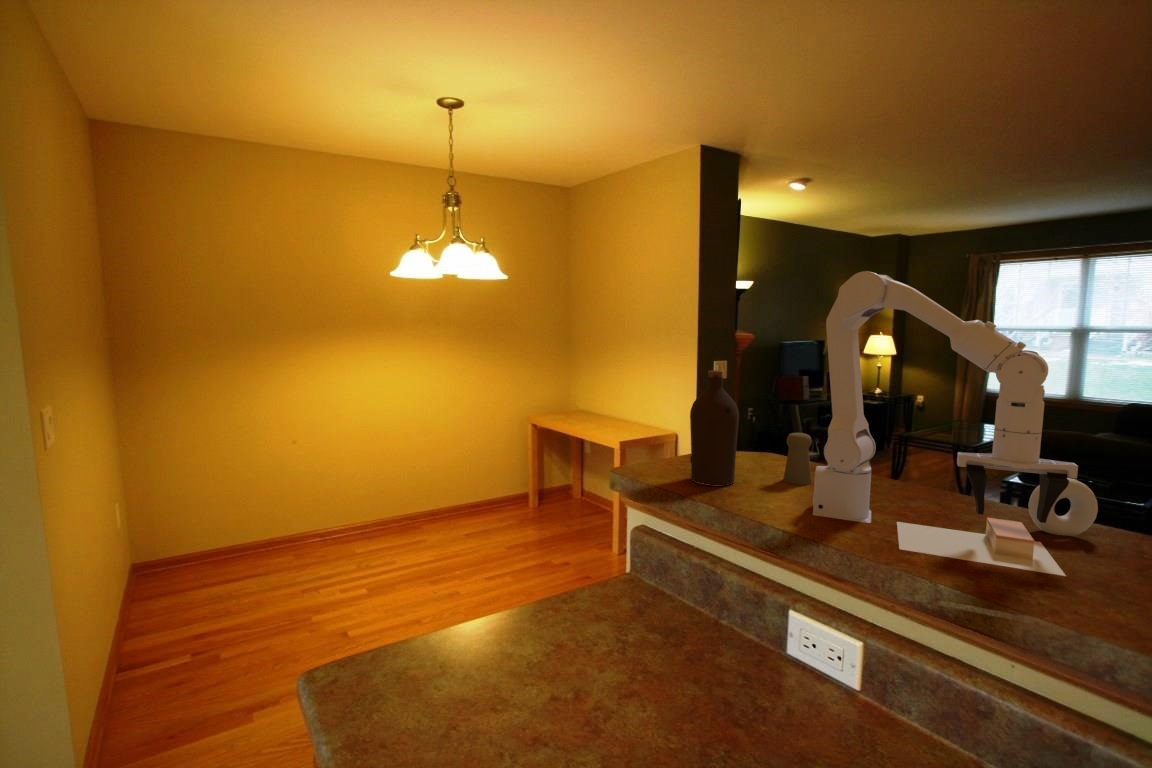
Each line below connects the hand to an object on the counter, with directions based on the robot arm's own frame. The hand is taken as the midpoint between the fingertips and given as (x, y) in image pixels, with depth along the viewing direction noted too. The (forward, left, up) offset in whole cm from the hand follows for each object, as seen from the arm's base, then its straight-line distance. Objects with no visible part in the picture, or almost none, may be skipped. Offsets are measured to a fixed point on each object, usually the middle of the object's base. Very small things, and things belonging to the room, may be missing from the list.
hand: (1009, 516), depth 88 cm
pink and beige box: (0, 0, -5) cm, 5 cm away
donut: (+9, +12, -6) cm, 16 cm away
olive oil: (-51, +18, -6) cm, 54 cm away
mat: (-5, -2, -6) cm, 8 cm away
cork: (-34, +27, -6) cm, 44 cm away
